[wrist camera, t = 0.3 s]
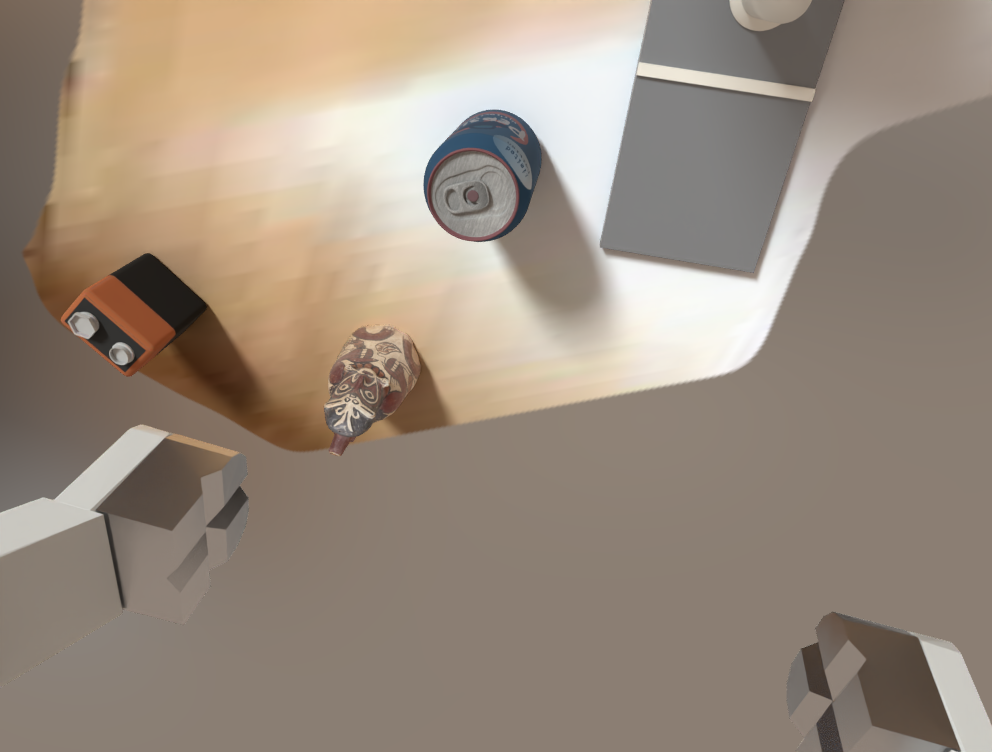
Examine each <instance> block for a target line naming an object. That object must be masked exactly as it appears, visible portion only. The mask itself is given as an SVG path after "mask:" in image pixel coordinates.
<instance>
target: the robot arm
mask: <svg viewBox="0 0 992 752" xmlns="http://www.w3.org/2000/svg"><path fill="white" fill-rule="evenodd" d="M247 475H248V472H247V460H246V456H244V455H243V454H241V453H239V452H236V451H232V450H229V449H226V448H222V447H219V446H216V445H212V444H209V443H205V442H202V441H199V440H195V439H192V438H189V437H185V436H182V435H178V434H172V433H169V432H166V431H162V430H159V429H156V428H152V427H149V426H145V425H142V424H141V425H139V426H136V427H133V428H131V429H129V430H128V431H127V432H126V433H125V434H124V435H123V436H122V437H120V438H119V440H117V441H116V442H115V443H114V444H113V445H112V446H111V447H110V448H109V449H108V450H107V451H106V452H104V453H103V454H102V455H101V456H100V457H99V458H98V459H97V460H96V461H95V462H94V463H93V464H92V465H91V466H90V467H89V468H88V469H86V470H85V471H84V472H83V473H82V474H81V475H80V476H79V477H78V478H77V479H76V480H75V481H74V482H73V483H72V484H70V485H69V486H68V487H67V488H66V489H65V490H64V491H63V492H62V493H61V494H60V495H59V496H58V497H57V498H56V499H54V500H51V499H47V498H41V499H38V500H35V501H32V502H29V503H26V504H24V505H21V506H18V507H15V508H13V509H10V510H7V511H4V512H1V513H0V688H1V687H2V686H4V685H6V684H7V683H9V682H11V681H12V680H14V679H16V678H17V677H19V676H21V675H22V674H24V673H25V672H27V671H29V670H30V669H32V668H34V667H35V666H37V665H39V664H40V663H42V662H44V661H45V660H47V659H49V658H50V657H52V656H54V655H55V654H57V653H59V652H60V651H62V650H63V649H65V648H67V647H68V646H70V645H72V644H73V643H75V642H77V641H78V640H80V639H82V638H83V637H85V636H87V635H88V634H90V633H92V632H93V631H95V630H96V629H98V628H99V627H101V626H103V625H105V624H106V623H108V622H110V621H111V620H112V619H114V618H116V617H118V616H120V615H121V614H122V613H123V610H126V611H130V612H134V613H138V614H142V615H146V616H150V617H154V618H157V619H161V620H165V621H169V622H173V623H177V624H181V625H184V624H185V623H186V621H187V620H188V618H189V617H190V616H191V614H192V613H193V611H194V610H195V608H196V607H197V605H198V604H199V602H200V601H201V599H202V598H203V597H204V595H205V594H206V592H207V591H208V589H209V588H210V586H211V585H210V571H209V570H211V569H213V568H215V567H217V566H219V565H221V564H223V563H225V562H227V561H228V560H229V558H230V557H231V555H232V554H233V552H234V551H235V549H236V547H237V546H238V544H239V542H240V539H241V537H242V534H243V531H244V529H245V527H246V523H247V517H248V512H249V505H248V504H249V499H248V496H247V495H246V494H245V492H244V491H243V490H242V488H241V487H240V484H241V483H242V482H243V480H244V479H245V477H246V476H247ZM815 629H816V634H817V639H818V642H817V643H814V644H812V645H809V646H806V647H804V648H801V649H800V651H799V653H798V654H797V656H796V657H795V659H794V661H793V662H792V664H791V668H790V672H789V676H788V680H787V706H788V713H789V719H790V720H791V721H792V723H793V724H794V725H795V727H796V728H797V729H798V731H799V732H800V733H801V735H802V736H803V737H804V739H803V740H802V742H801V743H800V745H799V746H798V748H797V749H796V751H795V752H992V725H991V723H990V720H989V718H988V716H987V714H986V711H985V709H984V707H983V704H982V702H981V700H980V697H979V695H978V693H977V691H976V688H975V686H974V683H973V681H972V679H971V676H970V674H969V672H968V669H967V667H966V665H965V662H964V660H963V658H962V655H961V653H960V652H959V650H958V649H957V648H956V647H955V646H954V645H953V644H952V643H951V642H948V641H944V640H940V639H937V638H933V637H928V636H925V635H921V634H917V633H914V632H907V631H905V630H902V629H898V628H894V627H890V626H887V625H883V624H879V623H875V622H871V621H867V620H863V619H859V618H856V617H851V616H848V615H843V614H840V613H836V612H831V613H829V614H827V615H825V616H824V617H823V618H822V619H821V621H820V622H819V624H818V625H817V626H816V628H815Z"/></svg>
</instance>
